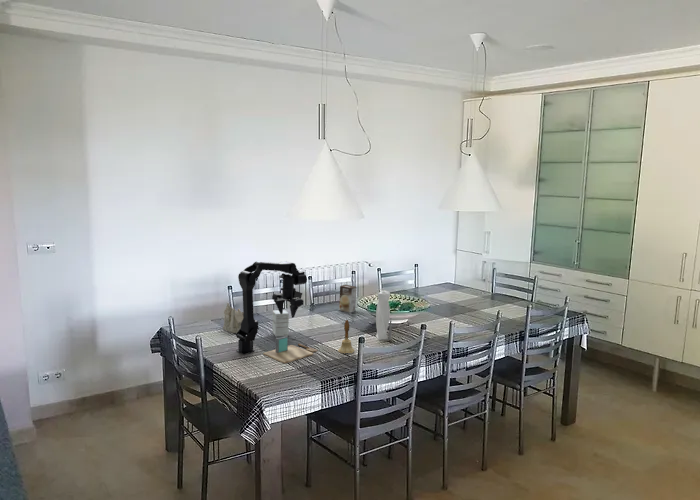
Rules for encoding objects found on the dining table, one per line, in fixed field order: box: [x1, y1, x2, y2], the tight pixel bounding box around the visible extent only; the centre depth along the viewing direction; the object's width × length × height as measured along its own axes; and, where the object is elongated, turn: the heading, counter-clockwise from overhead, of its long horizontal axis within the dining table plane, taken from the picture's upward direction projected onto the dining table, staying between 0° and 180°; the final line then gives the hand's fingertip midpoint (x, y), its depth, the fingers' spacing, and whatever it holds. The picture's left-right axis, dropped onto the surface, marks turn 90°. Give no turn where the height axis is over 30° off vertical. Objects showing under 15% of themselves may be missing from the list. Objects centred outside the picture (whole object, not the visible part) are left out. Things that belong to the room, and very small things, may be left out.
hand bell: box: [337, 319, 355, 355], centre depth 266 cm, size 8×8×16 cm
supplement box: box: [271, 309, 290, 338], centre depth 289 cm, size 7×7×13 cm
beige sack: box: [222, 302, 244, 334], centre depth 297 cm, size 16×16×15 cm
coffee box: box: [338, 284, 357, 314], centre depth 341 cm, size 9×6×16 cm
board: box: [263, 344, 314, 364], centre depth 259 cm, size 18×16×1 cm
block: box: [275, 336, 289, 353], centre depth 260 cm, size 6×2×7 cm, turn 137°
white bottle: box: [375, 288, 393, 342], centre depth 287 cm, size 8×8×28 cm
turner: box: [297, 343, 318, 353], centre depth 269 cm, size 3×12×1 cm, turn 47°
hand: (287, 315), depth 277 cm, fingers open, 9 cm apart
